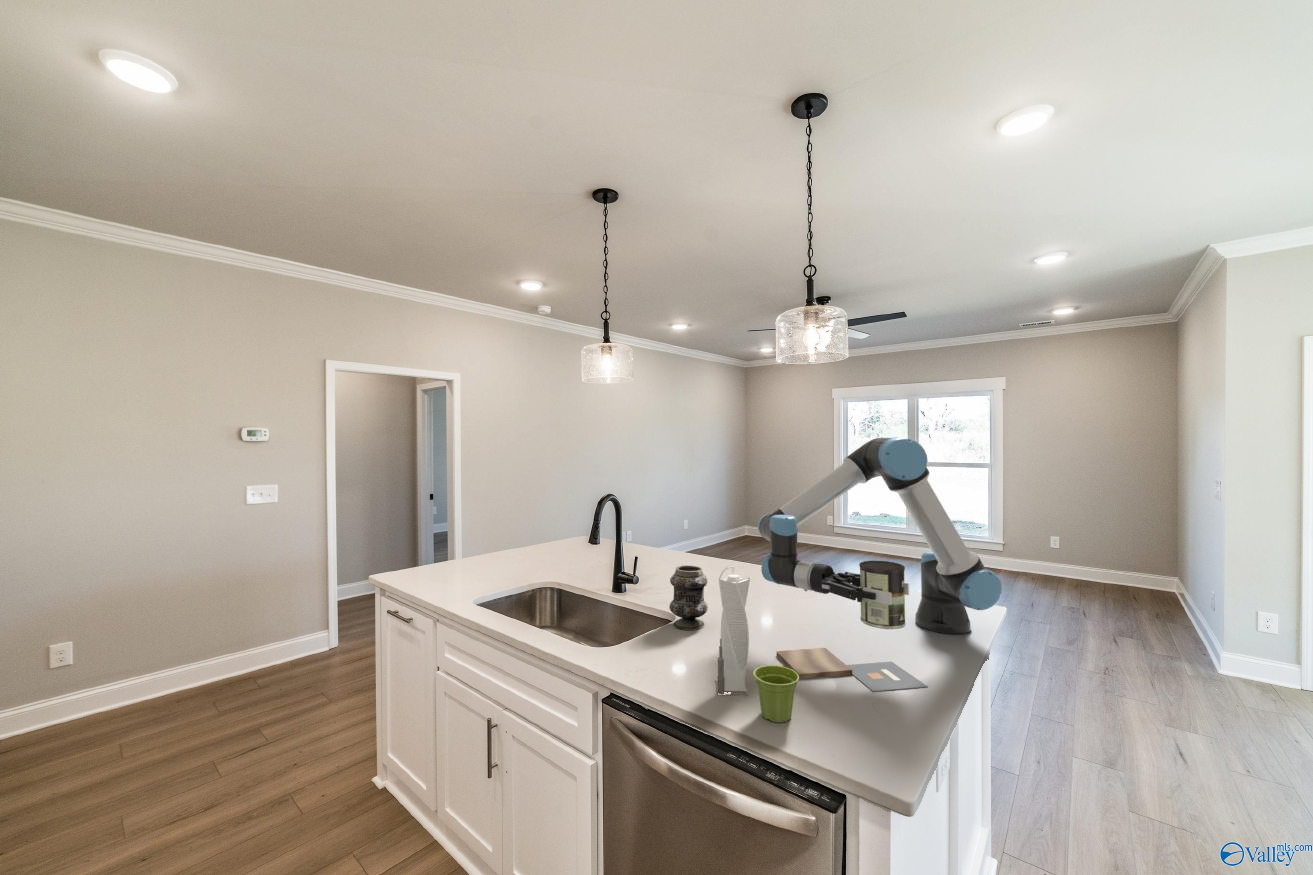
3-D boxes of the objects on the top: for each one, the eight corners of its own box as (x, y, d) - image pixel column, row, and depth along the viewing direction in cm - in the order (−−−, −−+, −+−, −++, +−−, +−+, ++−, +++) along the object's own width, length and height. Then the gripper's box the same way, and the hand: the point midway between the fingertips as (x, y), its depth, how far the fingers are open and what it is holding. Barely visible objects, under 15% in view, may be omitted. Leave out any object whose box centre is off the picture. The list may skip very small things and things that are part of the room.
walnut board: (825, 652, 143) (825, 647, 143) (852, 674, 129) (852, 669, 129) (776, 655, 140) (776, 651, 140) (799, 678, 127) (799, 673, 127)
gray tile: (891, 662, 136) (891, 661, 136) (927, 687, 122) (927, 686, 122) (841, 666, 134) (841, 665, 134) (873, 691, 120) (873, 690, 120)
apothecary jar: (714, 622, 166) (714, 566, 166) (696, 634, 156) (696, 574, 156) (681, 616, 172) (681, 561, 173) (662, 627, 162) (662, 569, 162)
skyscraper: (714, 679, 127) (714, 564, 127) (747, 679, 127) (747, 564, 127) (717, 696, 119) (717, 573, 119) (753, 696, 118) (752, 573, 119)
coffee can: (899, 616, 132) (898, 560, 132) (910, 630, 122) (909, 570, 122) (856, 613, 134) (855, 559, 134) (864, 628, 124) (863, 569, 124)
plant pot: (748, 705, 114) (748, 665, 114) (790, 703, 115) (790, 663, 115) (760, 728, 105) (760, 685, 105) (806, 726, 106) (805, 683, 106)
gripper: (835, 582, 149) (917, 599, 133) (793, 600, 133) (880, 621, 117) (834, 556, 149) (916, 569, 133) (792, 570, 133) (880, 587, 117)
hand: (899, 593), depth 125 cm, fingers closed on coffee can, 10 cm apart
